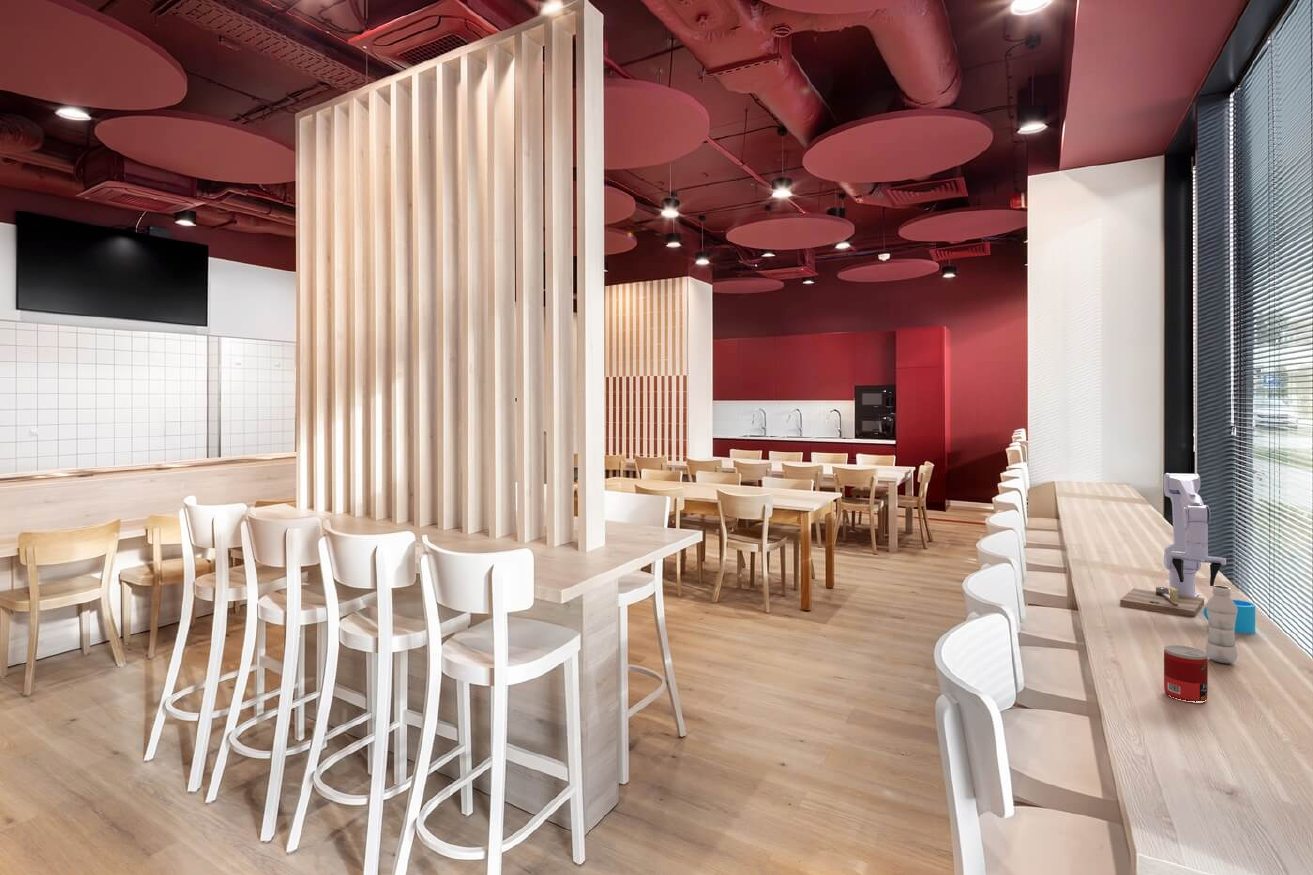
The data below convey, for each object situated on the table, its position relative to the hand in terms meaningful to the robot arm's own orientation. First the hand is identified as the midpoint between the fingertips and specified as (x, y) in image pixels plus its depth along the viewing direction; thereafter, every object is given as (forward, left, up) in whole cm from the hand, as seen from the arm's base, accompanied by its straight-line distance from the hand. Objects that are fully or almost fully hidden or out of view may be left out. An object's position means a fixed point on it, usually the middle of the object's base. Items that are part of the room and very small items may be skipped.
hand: (1196, 583), depth 215 cm
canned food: (+81, +8, -10) cm, 82 cm away
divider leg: (-6, -8, -8) cm, 13 cm away
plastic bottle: (+48, +11, -10) cm, 50 cm away
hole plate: (-5, -10, -10) cm, 15 cm away
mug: (+12, +9, -10) cm, 18 cm away
